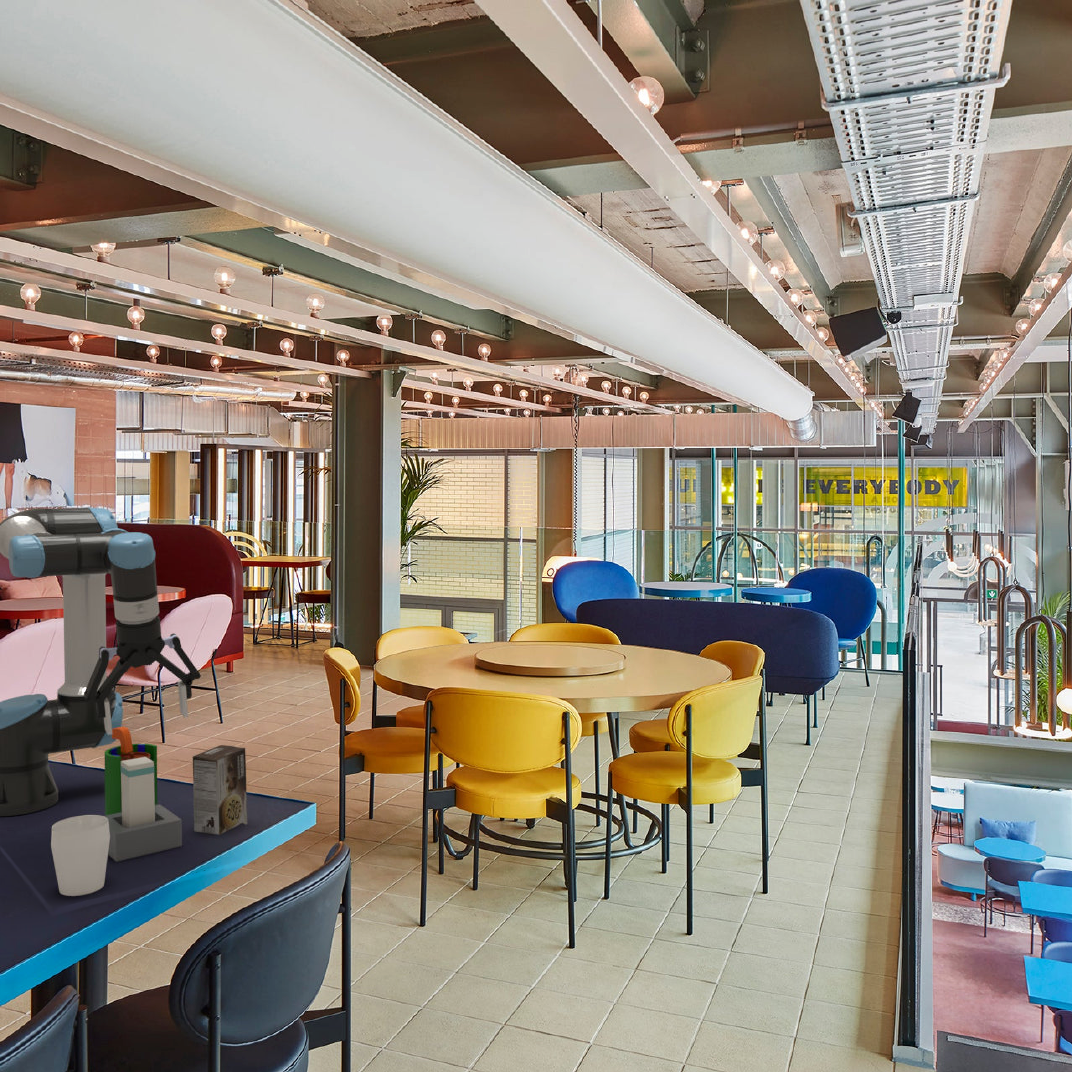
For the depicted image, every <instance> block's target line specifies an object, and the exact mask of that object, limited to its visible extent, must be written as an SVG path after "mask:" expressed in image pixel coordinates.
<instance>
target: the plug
mask: <svg viewBox="0 0 1072 1072" xmlns="http://www.w3.org/2000/svg"><path fill="white" fill-rule="evenodd" d="M121 793H122V826H123V827H124V828H128V827H133V826H137V825H142V824H146V823H151V822H155V793H154V762H153V761H152V760H150V759H148V758H147V757H142V758H136V759H130V760H125V761H121Z"/></svg>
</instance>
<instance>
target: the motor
mask: <svg viewBox="0 0 1072 1072" xmlns="http://www.w3.org/2000/svg"><path fill="white" fill-rule="evenodd" d="M112 739H116V740H119V742H120V745H117V746H113V747H110V748H108V749H106V750H105V751H104V754H103V755H104V816H106V815H111V814H115V813H120V812H122V793H121V761H125V760H130V759H136V758H142V757H147V758H148V759H150V760H152V761H153V762H154V793H155V805H158V745H155V744H151V743H133V741H132V735H131V731H130V729H129V728H128V727H126V726H121V727H118V728H114V729H112Z"/></svg>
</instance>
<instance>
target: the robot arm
mask: <svg viewBox="0 0 1072 1072" xmlns="http://www.w3.org/2000/svg"><path fill="white" fill-rule="evenodd" d="M118 527H119V526H118V523H117V520H116V518H115V516H114V514H113V513H112V511H110V510H109V509H107V508H103V507H102V508H101V507H100V508H99V507H90V506H88V507H64V508H63V507H62V508H61V507H60V508H58V507H57V508H52V507H51V508H43V507H42V508H40V507H39V508H32V509H27V510H22V511H19V512H16V513H14V514H11V515H10V516H7V517H5V518H4V519H3V520H1V521H0V554H1V555H2V556H3V557H4V558H6V559H7V560H8V564H9V569H10V574H11V575H12V576H13V577H16V578H30V579H33V578H34V579H35V578H38V577H55V576H56V577H57V576H61V577H62V595H63V597H62V599H63V600H62V601H63V603H62V604H63V605H62V606H63V607H62V608H63V609H62V610H63V652H64V653H63V656H64V657H63V659H64V661H63V662H64V664H63V665H64V682H63V684H62V685H61V686H60V687H59V688H58V689H57V692H56V693H57V694H56V696H57V698H56V699H55V698H54V699H48V697H47V696H46V694H42V693H35V694H24V695H20V696H14V697H12V698H8V699H4V700H2V701H0V817H12V816H18V815H20V816H21V815H27V814H30V813H35V812H39V811H42V810H45V809H48V808H50V807H52V806H54V805H55V804H57V803H58V802H59V788H58V786H57V784H56V782H55V780H54V776H53V774H52V772H51V769H50V767H49V765H50V764H49V754H50V755H51V754H55V753H62V752H70V751H76V750H77V751H78V750H84V749H96V748H98V747H103V746H107V745H108V746H109V745H111V744H113V743H115V742H116V740H117V739H112V729H114V728H118V727H122V725H123V718H124V717H123V716H124V708H123V705H124V704H123V697H122V695H121V694H120V692H117V691H115V687H116V685H117V684H118V682H119V681H120V680H121V679H122V677H123V676H124V675H125V673H128V671H129V670H130V668H132V667H133V668H134V669H136V668H141V667H143V666H152V665H153V664H154V663H155V662H157V663H158V664H160V665H161V666H162V667H164V668H165V669H166V670H168V671H169V672H170V673H171V674H173V675H174V676H176V677H177V678H178V679H179V680H178V681H177V688H178V702H179V703H178V704H179V712H180V714H181V715H182V717H183V718H187V717H189V712H188V699H191V698H192V696H193V693H192V691H193V690H192V684H193V681H195V680H199V679H200V678H201V677H202V676H201V673H200V672H199V670H198V669H197V668H196V666H195V665H194V664H193V662H192V660H191V658H190V657H189V656H188V655H187V653H186V652H185V650H184V649H183V647H182V643H181V639H180V637H179V636H178V635H177V634H176V633H170V635H169V636H168V637H165V638H163V637H162V628H161V626H162V625H161V618H160V616H159V614H160V606H159V604H160V603H159V598H158V597H159V595H158V583H157V570H156V550H155V547H154V542H153V541H154V540H153V538H152V536H150V535H149V534H148V533H143V532H139V531H138V532H136V531H135V532H129V531H127V530H125V529H122V528H118ZM107 574H109V575H110V579H111V587H112V596H113V597H112V598H113V599H112V600H113V610H114V618H115V619H116V620H115V630H116V640H117V641H116V645H115V647H107V620H106V619H107V614H106V613H107V609H106V608H107V607H106V605H107V603H106V602H107V601H106V600H107V599H106V575H107ZM166 646H168V647H169V648H170V649H173V650H174V651H175V653H176V655H177V656H178V657H179V658H180V660H181V661H182V663H183V664H184V665H185V668H187V669H188V671H189V672H187V673H186V672H185V671H183V670H182V669H181V668H179V667H178V665H176V664H174V663H173V662H172V660H171V661H170V660H169V659H168V658H167V657H166V656H164V655H163V654H162V652H163V649H164V648H165V647H166ZM114 656H118V658H119V659H118V660H117V661H116V664H115V666H114V667H113V669H112V670H111V671H110V673H109V674H108V673H107V671H108V670H107V669H108V666H109V662H110V661H112V660H113V658H114ZM107 674H108V676H107Z"/></svg>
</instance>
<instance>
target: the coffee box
mask: <svg viewBox="0 0 1072 1072" xmlns="http://www.w3.org/2000/svg"><path fill="white" fill-rule="evenodd" d="M246 757H247V756H246V747H238V746H235V745H225V744H221V745H218V746H215V747H213V748H210V749H208V750H204V751H202V752H200V753H198V754H195V755H192V783H193V784H192V786H193V787H192V788H193V826H194V828H193V829H194V832H198V833H204V834H209V835H210V834H211V835H212V834H213V835H222V834H224V833H227V832H228V831H230V830H232V829H233V828H236V827H238V826H239V825H241V824H244V825H245V826H247V825H248V799H247V797H248V795H247V794H248V793H247V765H246V764H247V763H246V760H247V759H246Z"/></svg>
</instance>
